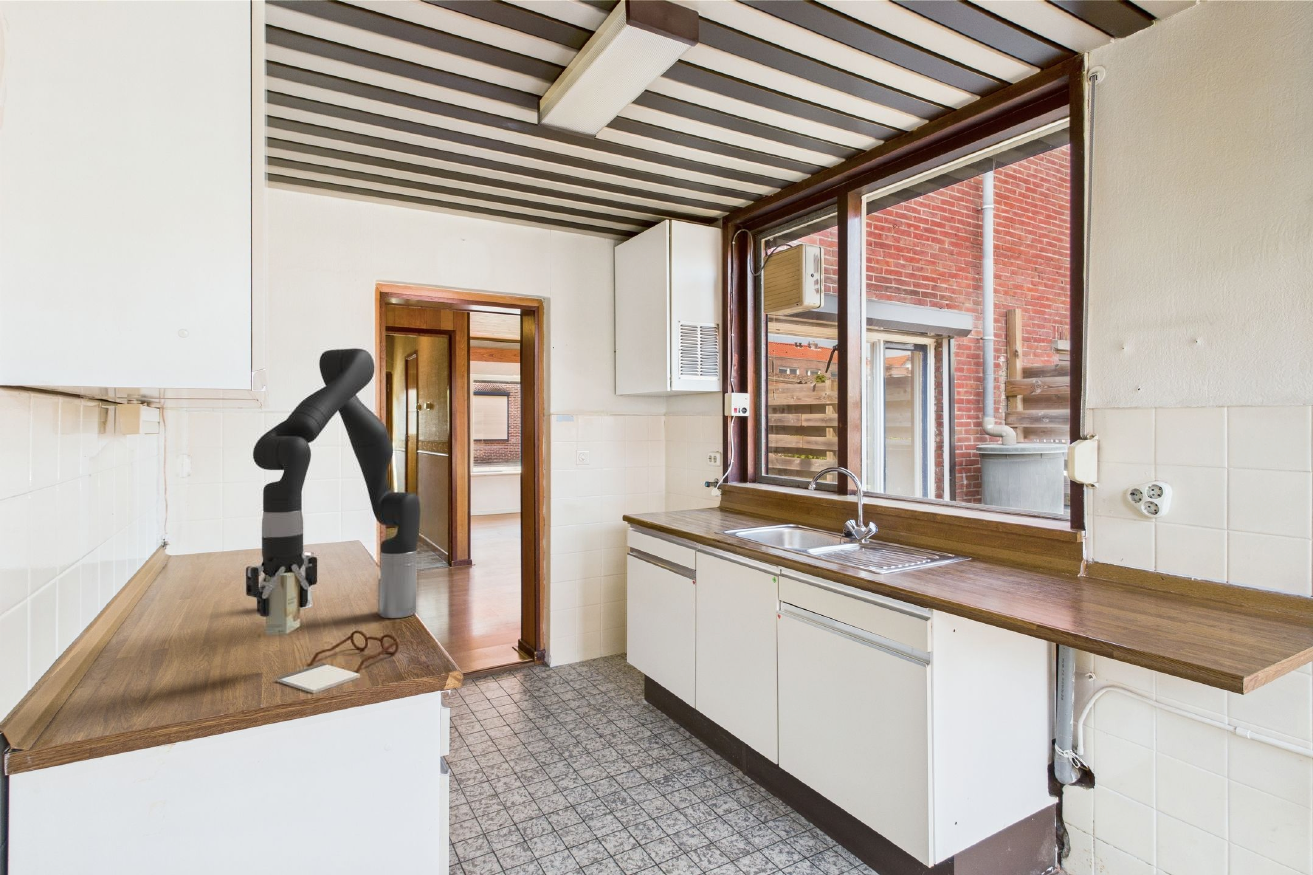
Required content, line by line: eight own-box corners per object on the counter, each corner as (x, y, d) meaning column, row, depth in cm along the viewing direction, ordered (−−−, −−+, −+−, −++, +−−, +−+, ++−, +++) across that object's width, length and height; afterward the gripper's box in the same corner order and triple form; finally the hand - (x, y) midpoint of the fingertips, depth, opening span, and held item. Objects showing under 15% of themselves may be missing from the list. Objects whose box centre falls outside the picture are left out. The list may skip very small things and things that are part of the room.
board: (276, 681, 134) (276, 677, 134) (323, 666, 143) (323, 663, 143) (313, 693, 128) (313, 689, 128) (360, 677, 137) (360, 673, 137)
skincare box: (286, 634, 137) (286, 575, 137) (264, 635, 137) (264, 575, 137) (301, 625, 144) (301, 568, 144) (280, 625, 144) (279, 568, 143)
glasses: (399, 656, 151) (399, 634, 151) (355, 676, 139) (356, 651, 139) (353, 649, 155) (353, 628, 155) (306, 668, 143) (306, 644, 143)
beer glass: (306, 609, 188) (306, 556, 188) (281, 609, 188) (282, 555, 188) (319, 603, 195) (319, 551, 195) (295, 603, 195) (295, 551, 195)
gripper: (304, 526, 148) (304, 601, 148) (236, 535, 136) (237, 617, 136) (325, 529, 144) (326, 606, 145) (258, 538, 132) (258, 622, 132)
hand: (283, 611), depth 140 cm, fingers closed on skincare box, 7 cm apart
